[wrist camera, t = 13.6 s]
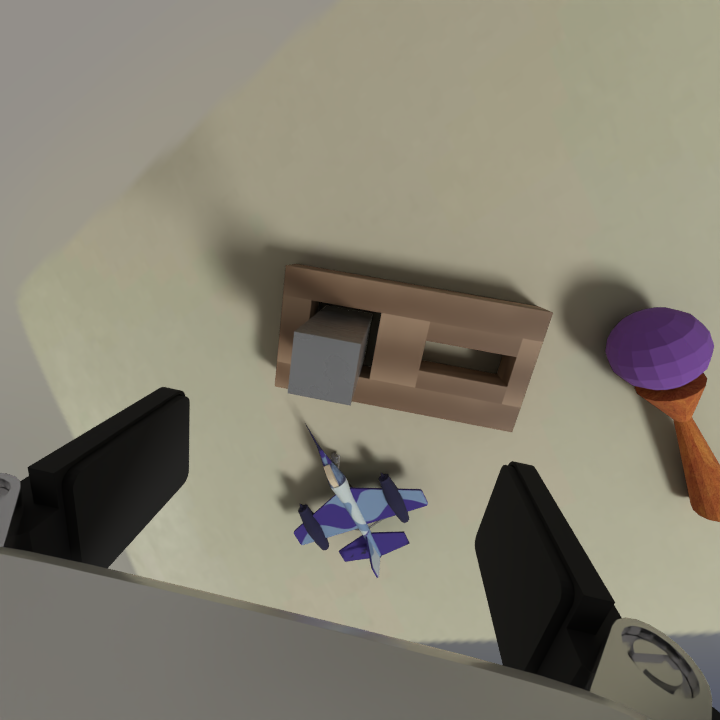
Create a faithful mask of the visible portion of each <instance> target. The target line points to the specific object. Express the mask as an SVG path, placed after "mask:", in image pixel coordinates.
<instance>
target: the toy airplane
mask: <svg viewBox="0 0 720 720" xmlns="http://www.w3.org/2000/svg"><path fill="white" fill-rule="evenodd" d="M306 426H307V425H306ZM307 428H308V427H307ZM308 430H309V429H308ZM309 432H310V430H309ZM310 434H311V432H310ZM311 436H312V438H313V440H314V442H315V443H316V445H317V448H318V451H319V453H320V456H321V459H322V462H323V466H324V470H325V473H326V475H327V479H328V482H329V485H330V488H331V489H332V490H333V491H334V493H335V495H334V496H333V497H332V498H331V499H330V500H328V501H327V502H326V503H325V504H324V505H323V506H322V507H321V508H319V509H318V510H317V511H316V512H315V513H313V512H312V511H311V509H310V508H309V507H308V505H306V504H305V505H302V504H300V508H299V509H298V512H299V514H300V516H301V519H302V521H303V524H301V525H300V526H299V527H298V528H297V529H296V530H295V531H294V535H295V536H296V538H297V539H298V541H299V543H300V544H301V545H305V544H308V543H311V542H314V541H315V543H316V544H317V545H318V546H319V547H320V548H321V549H322V550H327V549H328V547H329V543H328V540H327V538H328V537H331V536H334V535H337V534H341V533H344V532H347V531H351V530H360V532H361V533H362V536H360V537H359V538H357V539H356V540H354V541H353V542H351V543H350V544H348V545H347V546H345V547H344V548H342V549H341V550H339V553H340V554H341V556H342V558H343V559H344V561H345V562H346V561H353V560H361V559H368V558H370V563H371V568H372V570H373V572H374V574H375V575H376V577H377V578H378V577H379V568H380V558H381V556H382V555H384V554H387V553H389V552H391V551H393V550H396V549H398V548H400V547H403V546H405V545H407V544H409V541H408V539H407V537H406V535H405V533H404V532H373V533H371V531H370V529H369V528H371V527H372V526H374V525H375V524H377V523H379V522H380V521H382V520H383V519H385V518H388V517H391V516H395V515H396V516H397V517H398V518H399V519H400V520H401V521H402V522H403V523H406V522H408V520H409V516H408V511H411V510H414V509H417V508H421V507H424V506H427V505H428V502H427V500H426V498H425V496H424V494H423V492H422V490H421V489H398V488H397V487H396V485H395V484H394V482H393V481H392V480H391V478H390V477H389V475H388V474H382V473H381V476H380V477H379V482H380V484H381V487H382V488H353V487H352V486H351V485H350V484H349V482H348V481H347V479H346V477H345V475H344V474H343V473H342V472H341V471H340V470H339V459H340V455H337V454H336V453H335V452H333V453H332V454H331V460H330V459H329V457H328V456H327V455H326V454H325V453H324V451H323V450H322V449H321V448H320V446H319V445H318V443H317V442H316V440H315V438H314V437H313V435H312V434H311ZM332 461H333V462H334V463H338V467H337V466H336V465H335V464H334V463H333V462H332ZM375 521H377V522H375ZM372 522H375V523H374V524H372V525H371V526H369V527H368V525H367V524H368V523H372Z"/></svg>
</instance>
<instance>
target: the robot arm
mask: <svg viewBox="0 0 720 720" xmlns="http://www.w3.org/2000/svg"><path fill="white" fill-rule="evenodd" d="M189 407H190V402H189V398H188V397H185V394H184V392H183V391H180V390H175V389H171V388H166V387H161V388H159V389H157V390H156V391H154V392H152V393H151V394H149V395H147V396H146V397H144V398H142V399H141V400H139V401H137V402H136V403H134V404H132V405H131V406H129V407H127V408H126V409H124V410H122V411H121V412H119V413H117V414H116V415H114V416H112V417H111V418H109V419H107V420H106V421H104V422H102V423H101V424H99V425H97V426H96V427H94V428H92V429H91V430H89V431H87V432H86V433H84V434H82V435H81V436H79V437H77V438H76V439H74V440H72V441H71V442H69V443H67V444H66V445H64V446H63V447H61V448H59V449H57V450H56V451H54V452H52V453H51V454H49V455H47V456H46V457H44V458H42V459H41V460H39V461H38V462H36V463H34V464H32V465H31V466H29V467H28V472H29V476H28V477H26V478H25V479H24V480H22V481H20V480H19V479H17V477H15V476H13V475H10V474H7V473H0V720H720V713H719V712H718V711H717V710H716V709H715V708H713V707H712V696H711V691H710V686H709V685H708V683H707V681H706V679H705V677H704V675H703V673H702V671H701V670H700V669H699V668H698V666H697V665H696V664H695V662H694V661H693V660H692V658H691V657H690V656H689V655H688V654H687V653H686V652H685V651H684V650H683V649H682V648H681V647H680V646H679V645H678V644H677V643H675V642H674V641H673V640H671V639H670V638H669V637H668V636H666V635H665V634H664V633H662V632H661V631H659V630H657V629H656V628H654V627H652V626H651V625H649V624H647V623H644V622H642V621H639V620H637V619H631V618H621V616H620V614H619V613H618V611H617V609H616V608H615V606H614V603H615V601H614V600H613V598H612V596H611V595H610V593H609V591H608V590H607V588H606V586H605V585H604V583H603V581H602V580H601V578H600V576H599V574H598V573H597V571H596V569H595V568H594V566H593V564H592V563H591V561H590V559H589V558H588V556H587V554H586V553H585V551H584V549H583V548H582V546H581V544H580V543H579V541H578V539H577V538H576V536H575V534H574V532H573V531H572V529H571V527H570V526H569V524H568V522H567V521H566V519H565V517H564V516H563V514H562V512H561V511H560V509H559V507H558V506H557V504H556V502H555V501H554V499H553V497H552V495H551V494H550V492H549V490H548V489H547V487H546V485H545V484H544V482H543V480H542V479H541V477H540V475H539V474H538V472H537V470H536V469H535V467H534V466H532V465H527V464H523V463H518V462H513V461H512V462H510V463H509V465H508V466H507V465H503V466H502V468H501V470H500V473H499V476H498V478H497V481H496V484H495V486H494V489H493V492H492V494H491V497H490V500H489V503H488V505H487V508H486V511H485V513H484V516H483V519H482V521H481V524H480V527H479V530H478V532H477V535H476V539H475V551H476V555H477V559H478V563H479V568H480V572H481V576H482V580H483V584H484V588H485V592H486V597H487V601H488V605H489V609H490V613H491V617H492V622H493V626H494V630H495V634H496V638H497V642H498V647H499V651H500V655H501V659H502V663H503V665H499V664H495V663H492V662H488V661H484V660H480V659H477V658H473V657H469V656H466V655H462V654H457V653H454V652H449V651H446V650H442V649H438V648H434V647H430V646H426V645H422V644H418V643H414V642H410V641H406V640H402V639H397V638H393V637H389V636H385V635H381V634H377V633H373V632H369V631H365V630H361V629H357V628H353V627H349V626H345V625H341V624H337V623H333V622H329V621H325V620H321V619H317V618H312V617H308V616H304V615H300V614H296V613H292V612H288V611H284V610H280V609H275V608H271V607H267V606H263V605H259V604H255V603H251V602H246V601H242V600H238V599H234V598H230V597H226V596H222V595H217V594H213V593H209V592H205V591H201V590H196V589H192V588H188V587H184V586H179V585H175V584H171V583H167V582H162V581H158V580H154V579H150V578H145V577H141V576H137V575H133V574H128V573H124V572H120V571H115V570H111V569H107V568H108V567H109V566H110V565H111V564H112V563H113V562H114V561H115V559H116V558H117V557H118V556H119V555H120V554H121V553H122V552H123V551H124V549H125V548H126V547H127V546H128V545H129V544H130V543H131V542H132V541H133V540H134V538H135V537H136V536H137V535H138V534H139V533H140V532H141V531H142V530H143V528H144V527H145V526H146V525H147V524H148V523H149V522H150V521H151V520H152V518H153V517H154V516H155V515H156V514H157V513H158V512H159V511H160V510H161V509H162V507H163V506H164V505H165V504H166V503H167V502H168V501H169V500H170V499H171V497H172V496H173V495H174V494H175V493H176V492H177V491H178V490H179V489H180V488H181V486H182V485H183V484H184V483H185V481H186V479H187V477H188V473H189Z"/></svg>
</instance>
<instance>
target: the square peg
mask: <svg viewBox="0 0 720 720" xmlns="http://www.w3.org/2000/svg"><path fill="white" fill-rule="evenodd" d="M372 315H373V314H372V313H367V312H361V311H356V310H351V309H345V308H340V307H334V306H329V305H327V306H325V307H324V308H323V309H322V310H320V311H319V312H318V313H317V314H315V315H314V316H313V317H312V318H310V319H309V320H308V321H307V322H305V323H304V324H303V325H302V326H300V327H299V328H298V329H297V330H296V331H294V338H293V348H292V357H291V366H290V375H289V385H288V393H290V394H295V395H300V396H305V397H310V398H315V399H320V400H325V401H330V402H336V403H341V404H346V405H351V402H352V398H353V395H354V392H355V388H356V385H357V382H358V379H359V375H360V372H361V369H362V365H363V362H364V359H365V354H366V348H367V343H368V337H369V332H370V326H371V321H372Z"/></svg>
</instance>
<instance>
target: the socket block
mask: <svg viewBox="0 0 720 720" xmlns="http://www.w3.org/2000/svg"><path fill="white" fill-rule="evenodd" d="M319 302H324V303H330V304H335V305H341V306H346V307H352V308H357V309H363V310H368V311H374V312H380V313H382V314H381V319H380V325H379V330H378V335H377V341H376V346H375V352H374V357H373V363H372V367H369V366H364V365H362V369H361V372H360V375H359V379H358V382H357V385H356V388H355V392H354V395H353V398H352V401H353V402H359V403H364V404H369V405H374V406H379V407H384V408H390V409H395V410H400V411H405V412H410V413H415V414H421V415H426V416H431V417H436V418H441V419H446V420H452V421H457V422H462V423H467V424H472V425H477V426H482V427H488V428H493V429H498V430H503V431H508V432H512V431H513V428H514V425H515V422H516V419H517V417H518V414H519V411H520V408H521V405H522V402H523V399H524V396H525V393H526V390H527V387H528V384H529V382H530V379H531V376H532V373H533V370H534V367H535V364H536V361H537V358H538V355H539V352H540V349H541V347H542V344H543V341H544V338H545V335H546V332H547V329H548V326H549V323H550V320H551V317H552V314H553V312H550V311H548V310H546V309H543V308H541V307H538V306H534V305H528V304H522V303H517V302H511V301H505V300H500V299H494V298H488V297H483V296H477V295H471V294H466V293H460V292H454V291H449V290H443V289H437V288H432V287H426V286H420V285H415V284H409V283H403V282H398V281H392V280H386V279H381V278H375V277H369V276H364V275H358V274H352V273H346V272H341V271H335V270H329V269H324V268H318V267H312V266H307V265H301V264H292V265H286V269H285V280H284V291H283V302H282V312H281V323H280V334H279V345H278V356H277V367H276V378H275V386H276V387H281V388H286V389H288V385H289V375H290V366H291V357H292V348H293V338H294V331H296V330H297V329H298V328H299V327H300V326H302V325H303V324H304V323H305V322H307V321H308V320H309V319H310V318H312V317H313V316H314V315H315V314H317V313H318V305H319ZM426 341H431V342H437V343H442V344H448V345H453V346H459V347H464V348H469V349H475V350H480V351H486V352H491V353H497V354H502V355H503V356H502V359H501V362H500V366H499V369H498V372H497V374H494V373H489V372H483V371H478V370H473V369H467V368H462V367H457V366H451V365H446V364H441V363H435V362H430V361H424V360H422V355H423V351H424V347H425V343H426Z"/></svg>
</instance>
